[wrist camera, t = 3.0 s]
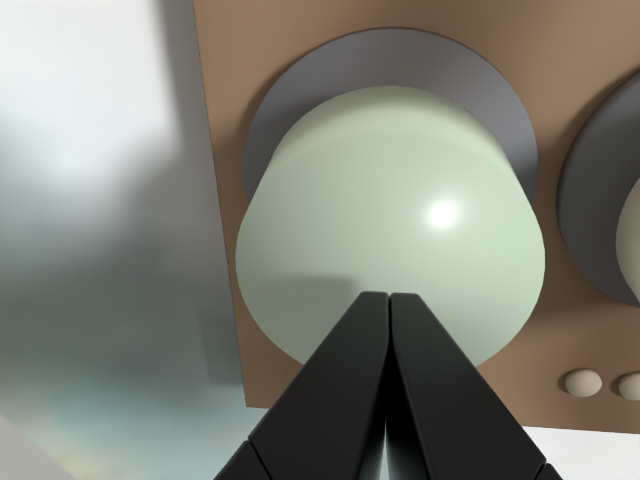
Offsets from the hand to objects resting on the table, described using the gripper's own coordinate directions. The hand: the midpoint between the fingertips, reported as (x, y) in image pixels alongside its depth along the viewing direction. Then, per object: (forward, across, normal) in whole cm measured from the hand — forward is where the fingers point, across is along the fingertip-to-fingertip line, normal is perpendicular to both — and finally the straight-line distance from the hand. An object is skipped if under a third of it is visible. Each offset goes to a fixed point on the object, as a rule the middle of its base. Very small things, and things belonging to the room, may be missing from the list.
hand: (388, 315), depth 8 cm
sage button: (+3, 0, 0) cm, 3 cm away
